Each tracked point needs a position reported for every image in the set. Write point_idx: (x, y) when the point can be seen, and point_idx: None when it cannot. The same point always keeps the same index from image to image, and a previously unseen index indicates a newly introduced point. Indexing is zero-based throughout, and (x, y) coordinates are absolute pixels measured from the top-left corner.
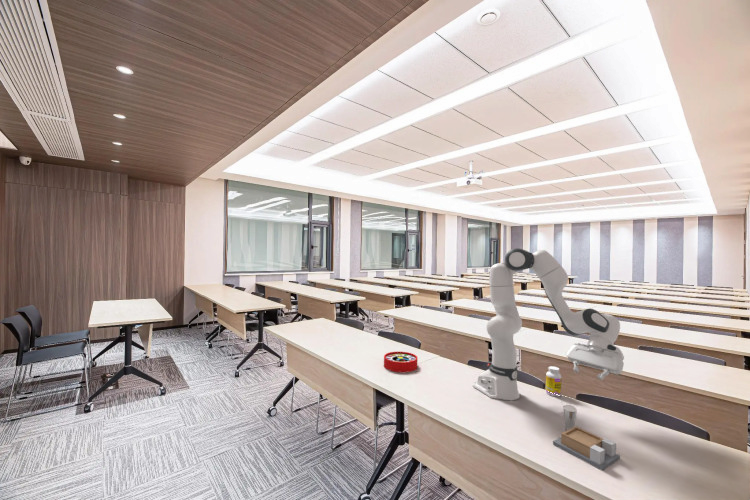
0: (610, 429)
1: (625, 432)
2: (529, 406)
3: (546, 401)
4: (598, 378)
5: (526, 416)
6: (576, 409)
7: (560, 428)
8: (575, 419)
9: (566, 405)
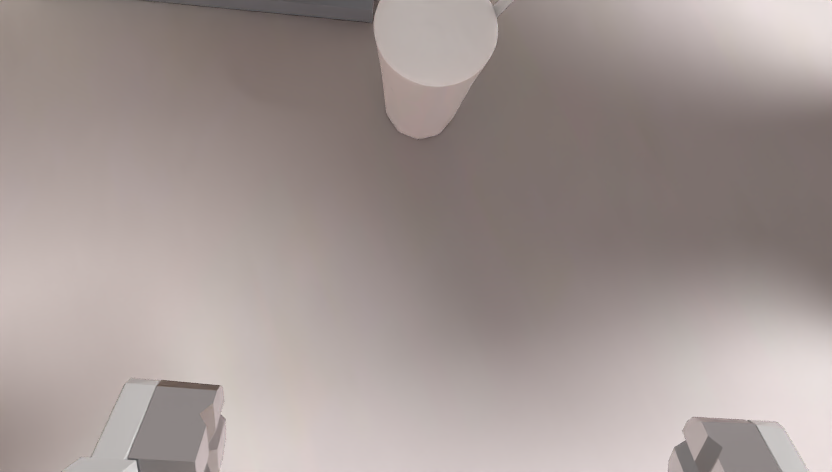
0: None
1: None
2: (810, 208)
3: None
4: (219, 418)
5: (711, 19)
6: (382, 43)
7: None
8: (381, 72)
9: (474, 14)
